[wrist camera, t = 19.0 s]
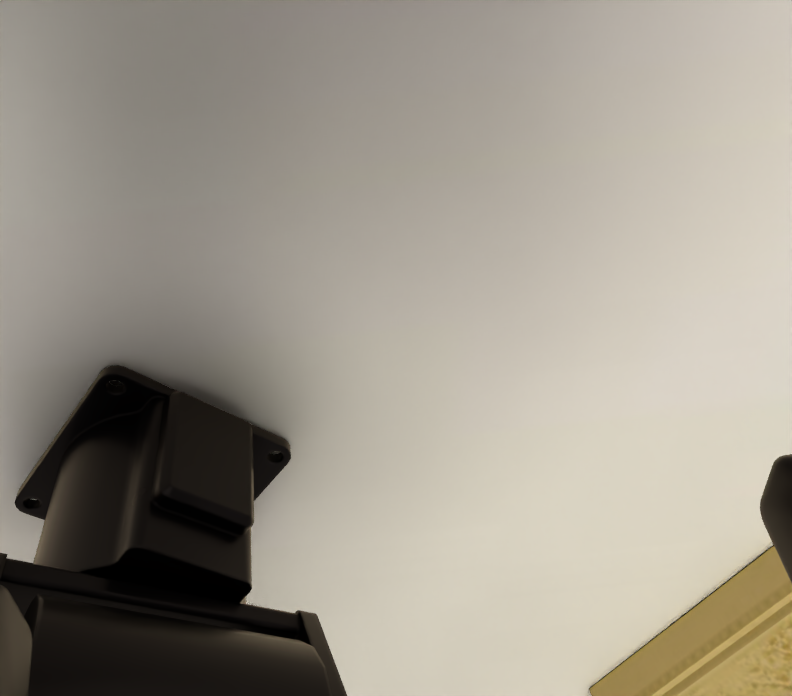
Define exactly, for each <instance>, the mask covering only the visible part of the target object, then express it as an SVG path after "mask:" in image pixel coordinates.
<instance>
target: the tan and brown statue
mask: <svg viewBox="0 0 792 696" xmlns="http://www.w3.org/2000/svg"><path fill="white" fill-rule="evenodd" d="M589 690H590V693H591V695H592V696H792V583H791V581H790V579H789V577H788V574H787V572H786V570H785V568H784V566H783V564H782V561H781V559H780V557H779V555H778V553H777V551H776V549H775V546H773V547H772V548H770V549H769V550H768V551H767V552H765V553H764V554H763V555H761V556H760V557H759V558H757V559H756V560H755V561H754V562H752V563H751V564H750V565H748V566H747V567H746V568H745V569H743V570H742V571H741V572H739V573H738V574H737V575H736V576H734V577H733V578H732V579H730V580H729V581H728V582H727V583H725V584H724V585H723V586H721V587H720V588H719V589H718V590H716V591H715V592H714V593H712V594H711V595H710V596H709V597H707V598H706V599H705V600H703V601H702V602H701V603H699V604H698V605H697V606H696V607H694V608H693V609H692V610H690V611H689V612H688V613H687V614H685V615H684V616H683V617H681V618H680V619H679V620H678V621H676V622H675V623H674V624H672V625H671V626H670V627H669V628H667V629H666V630H665V631H663V632H662V633H661V634H660V635H658V636H657V637H656V638H654V639H653V640H652V641H651V642H649V643H648V644H647V645H645V646H644V647H643V648H642V649H640V650H639V651H638V652H636V653H635V654H634V655H632V656H631V657H630V658H629V659H627V660H626V661H625V662H623V663H622V664H621V665H620V666H618V667H617V668H616V669H614V670H613V671H612V672H611V673H609V674H608V675H607V676H605V677H604V678H603V679H602V680H600V681H599V682H598V683H596V684H595V685H594V686H593V687H591V688H590V689H589Z"/></svg>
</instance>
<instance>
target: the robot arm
mask: <svg viewBox="0 0 792 696" xmlns="http://www.w3.org/2000/svg"><path fill="white" fill-rule="evenodd" d="M113 380H116V381H120V382H121V383H122V384H123V385H120V386H116V385H112V384H111V383H110V382H109V381H113ZM274 451H278V452H280V453H279V454H270V453H271V452H274ZM290 459H291V452H290V445H289V443H288V441H286V440H285V439H283V438H281V437H279V436H276V435H274V434H272V433H270V432H268V431H265V430H263V429H261V428H259V427H256V426H254V425H252V424H250V423H249V422H248V421H245V420H243V419H241V418H239V417H236V416H234V415H232V414H230V413H228V412H225V411H223V410H221V409H219V408H217V407H214V406H212V405H210V404H208V403H205V402H203V401H201V400H199V399H197V398H194V397H192V396H190V395H188V394H186V393H183V392H179V391H177V390H174V389H172V388H170V387H168V386H166V385H163V384H161V383H159V382H157V381H154V380H152V379H150V378H148V377H146V376H143V375H141V374H139V373H137V372H135V371H132V370H130V369H128V368H126V367H122V366H119V365H116V366H109V367H106V368H104V369H103V370H102V371H101V372H100V374H99V375H98V377H97V378H96V379H95V381H94V382H93V384H92V385H91V387H90V388H89V389H88V391H87V392H86V394H85V395H84V397H83V398H82V399H81V401H80V402H79V404H78V405H77V407H76V408H75V410H74V411H73V412H72V414H71V415H70V417H69V418H68V420H67V421H66V422H65V424H64V425H63V427H62V428H61V430H60V431H59V432H58V434H57V435H56V437H55V438H54V440H53V441H52V443H51V444H50V445H49V447H48V448H47V450H46V451H45V453H44V454H43V455H42V457H41V458H40V460H39V461H38V463H37V464H36V465H35V467H34V468H33V470H32V471H31V473H30V474H29V476H28V477H27V478H26V480H25V481H24V483H23V484H22V486H21V487H20V488H19V491H18V494H17V497H16V500H15V505H16V507H17V508H18V509H19V511H21V512H23V513H26V514H29V515H32V516H35V517H38V518H41V519H44V520H45V522H44V526H43V530H42V533H41V537H40V540H39V544H38V548H37V551H36V555H35V558H34V562H33V563H28V562H23V561H18V560H13V559H7V558H6V557H7V554H4V553H0V696H347V694H346V691H345V689H344V686H343V683H342V681H341V678H340V675H339V673H338V670H337V667H336V665H335V662H334V659H333V657H332V654H331V651H330V649H329V646H328V643H327V640H326V638H325V635H324V632H323V630H322V627H321V624H320V622H319V619H318V616H317V615H316V614H314V613H309V612H304V611H296V612H295V613H290V612H285V611H280V610H275V609H269V608H264V607H259V606H254V605H248V604H246V596H247V594H248V593H249V592H250V591H251V589H252V576H251V526H252V525H253V523H254V500H255V499H256V498H257V497H258V496H259V495H260V494H261V493H262V492H263V490H264V489H265V488H266V487H267V486H268V485H269V484H270V483H271V481H272V480H273V479H274V478H275V477H276V476H277V475H278V474H279V472H280V471H281V470H282V469H283V468H284V467H285V466H286V465H287V464H288V462H289V461H290ZM30 498H35V499H37V500H32V499H30ZM760 511H761V516H762V520H763V522H764V525H765V527H766V529H767V531H768V533H769V536H770V538H771V540H772V542H773V544H774V546H775V549H776V551H777V553H778V555H779V557H780V559H781V561H782V564H783V566H784V568H785V570H786V572H787V574H788V577H789V579H790V581H791V583H792V454H790V455H784V456H781V457H779V458H778V459H776V460H775V462H774V463H773V466H772V469H771V472H770V474H769V477H768V480H767V483H766V486H765V489H764V492H763V495H762V498H761V502H760Z"/></svg>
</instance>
